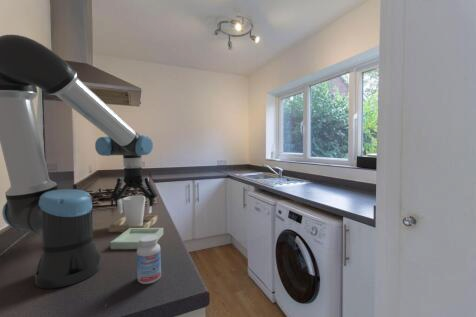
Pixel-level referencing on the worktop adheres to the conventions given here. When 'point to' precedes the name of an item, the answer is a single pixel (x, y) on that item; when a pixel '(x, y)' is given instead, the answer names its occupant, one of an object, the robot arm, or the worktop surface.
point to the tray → (134, 237)
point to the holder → (117, 228)
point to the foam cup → (134, 210)
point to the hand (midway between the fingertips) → (135, 213)
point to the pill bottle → (148, 259)
